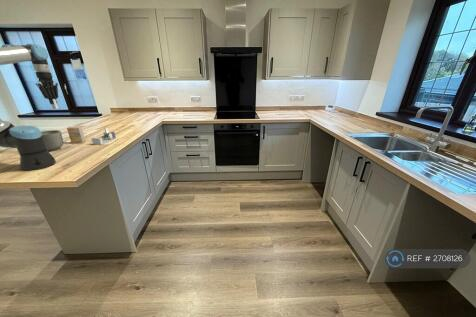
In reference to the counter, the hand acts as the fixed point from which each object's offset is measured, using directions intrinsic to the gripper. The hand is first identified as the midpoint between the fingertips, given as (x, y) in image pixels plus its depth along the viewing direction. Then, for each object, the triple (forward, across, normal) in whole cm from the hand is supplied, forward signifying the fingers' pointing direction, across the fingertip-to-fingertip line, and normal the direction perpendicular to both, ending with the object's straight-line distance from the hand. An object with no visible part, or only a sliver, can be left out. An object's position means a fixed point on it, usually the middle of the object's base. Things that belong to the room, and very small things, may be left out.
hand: (55, 108), depth 134 cm
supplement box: (+30, +15, +6) cm, 34 cm away
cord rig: (+29, +21, -13) cm, 38 cm away
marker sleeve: (+28, +25, -13) cm, 40 cm away
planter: (+30, -3, +9) cm, 31 cm away
